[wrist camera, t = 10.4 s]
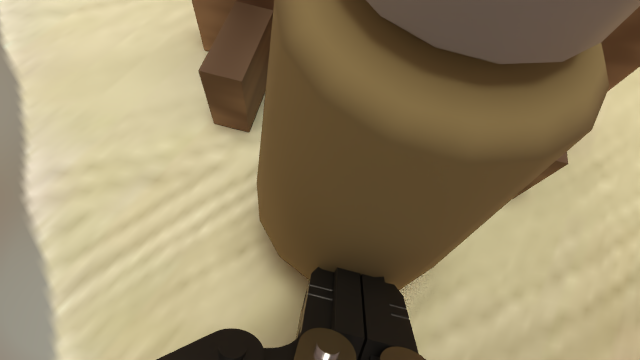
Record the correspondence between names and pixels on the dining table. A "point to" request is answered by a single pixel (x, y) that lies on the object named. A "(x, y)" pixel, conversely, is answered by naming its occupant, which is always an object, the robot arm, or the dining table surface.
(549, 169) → the walnut wall board
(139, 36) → the dining table surface
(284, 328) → the dining table surface
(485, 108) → the squeeze bottle
